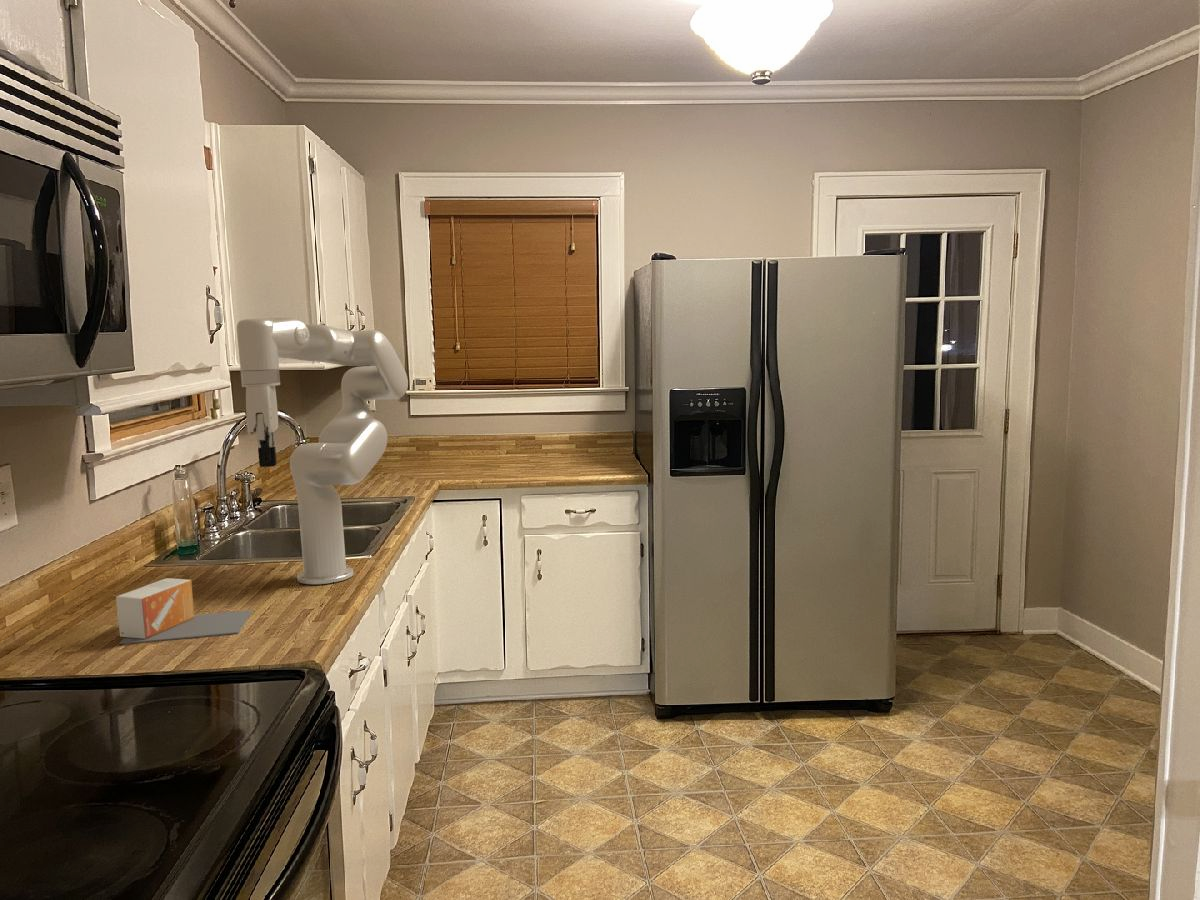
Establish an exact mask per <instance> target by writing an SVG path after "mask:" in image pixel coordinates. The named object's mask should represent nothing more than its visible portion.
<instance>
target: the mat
mask: <svg viewBox="0 0 1200 900" xmlns="http://www.w3.org/2000/svg"><path fill="white" fill-rule="evenodd" d="M252 612H253V611H252V609H248V610H238V611H237V610H236V611H226V612H224V611H223V612H217V613H216V612H214V613H206V614H205V613H204V614H194V615H195V618H193V619H191V620H188V621H186V622H184V623H181V624H179V625H177V626H174V627H172V628H170V629H167V630H165V631H163V632H161V633H158V634H156V635H153V636H151V637H149V638H146V639H141V638H130V637H123V638H122V640H121V641H120V642H118V645H119V644H124V645H132V643H134V644H142V643H143V644H144V642H145V643H152V642H164V641H175V640H184V639H185V640H186V639H195V638H207V637H216V636H218V637H219V636H226V635H227V636H228V635H237V634H240V632H241V630H242V628H243V627H244V625H245V623H246V622H247V620H248V618H249V617H250V615H251V613H252Z"/></svg>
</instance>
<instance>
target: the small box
mask: <svg viewBox="0 0 1200 900" xmlns="http://www.w3.org/2000/svg"><path fill="white" fill-rule="evenodd" d="M193 597H194V596H193V587H192V579H186V578H185V579H184V578H170V577H169V578H167V577H165V578H163V579H160V580H158V581H155V582H152V583H149V584H146V585H144V586H141V587H138V588H136V589H133V590H131V591H128V592H125V593H122V594H119V595H116V596H115V602H116V614H117V615H116V616H117V623H118V630H119V637H120V638H121V637H122V638H125V637H130V638H141V639H146V638H149V637H151V636H153V635H156V634H158V633H161V632H163V631H165V630H167V629H170V628H172V627H174V626H177V625H179V624H181V623H184V622H186V621H188V620H191V619H193V618H195V615H196V614H195V608H194V607H195V606H194V598H193Z"/></svg>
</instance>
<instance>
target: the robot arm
mask: <svg viewBox="0 0 1200 900" xmlns="http://www.w3.org/2000/svg"><path fill="white" fill-rule="evenodd" d="M236 333H237V334H236V335H237V346H238V355H239V356H238V357H239V366H240V368H239V369H240V380H241V387H242V388H245V408H246V409H245V411H246V413H245V414H246V430H247V433H248V435H251V436H252V435H254V434H256V440H257V453H258V463H259V465H258V466H259V467H260V468H266V467H267V468H268V467H275V466H277V463H278V462H277V452H276V446H275V432H276V431H277V430H278V428H279V415H278V412H279V411H278V400H277V392H276V386H280V385H281V379H280V378H281V376H280V367H279V365H280V364H279V358H281V359H289V360H290V359H292V360H298V361H299V360H300V361H307V362H318V363H325V364H332V365H337V366H339V365H340V366H344V367H345V366H346V367H347V366H348V367H352V368H350V369H348V370H347V371H345V372H344V374H343V376H342V379H341V386H340V388H341V398H342V399H341V400H342V401H341V403H342V407H341V409H340V410H339V412H338V413H337V414H336V415H335V416H334V417H333V418H332V419H331V420H330V421H329V422H328V423H327V425H325V426H324V428H323V429H322V430H321V432H320V434H319V437H318V442H310V443H309V442H308V443H304V444H301V445H299V446H298V447H296V448H295V449H294V450H293V451H292V453H291V455H290V459H289V468H290V472H291V476H292V480H293V483H294V486H295V492H296V498H297V504H298V505H297V509H298V520H299V531H300V543H301V556H302V566H303V567H302V568H303V569H302V571H300V572H299V573H298V574H297V575H296V580H297V581H298V583H301V584H305V585H325V584H333V582H334V583H338V582H342V581H344V580H348V579H350V578H352V576H354V568H352V567H350V566H347V562H346V561H347V560H346V548H345V535H344V534H345V533H344V522H343V509H342V508H343V507H342V500H341V497H340V495H339V492H338V491H337V490H336V488H335V486H352V485H357V484H359V483H361V481H363V480H364V479H365V478H366V477H367V475H368V474H369V473H370V472H371V470H372V469H373V468H374V467H375V465H376V464H377V463H378V462H379V461H380V459H381V458H382V457H383V455H384V453H385V451H386V448H387V446H388V432H387V429H386V427H385V425H384V424H383V423H382V422H381V421H380V420H378V419H375V416H374V413H373V411H372V410H371V407H370V406H369V405H368V401H372V400H373V401H376V400H377V401H380V400H381V401H384V400H398V399H400V398H402V397H404V396H405V395H406V393H407V391H408V388H409V387H408V386H409V380H408V375H407V372H406V370H405V368H404V366H403V364H402V361H401V360H400V358H399V356H398V354H397V351H396V350H395V348H394V347H393V345H392V343H391V342H390V341H389V339H388V338H387V337H386V336H385V335H384V333H382V332H381V331H379V330H376V329H372V330H371V329H370V330H367V329H366V330H365V329H364V330H347V329H342V328H338V327H333V326H328V325H324V324H313V323H310V324H309V323H308V324H305V322H303V321H302V320H300V319H298V318H295V317H276V318H275V317H270V318H250V319H249V318H247V319H241V320H239V321H238V322H237V325H236ZM354 366H355V367H354ZM334 485H335V486H334Z"/></svg>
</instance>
